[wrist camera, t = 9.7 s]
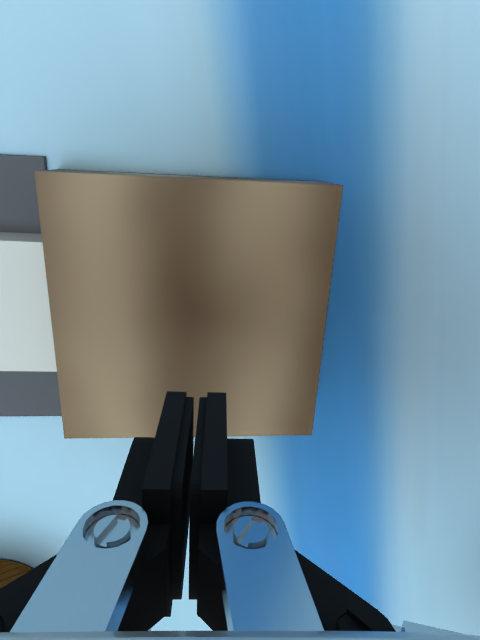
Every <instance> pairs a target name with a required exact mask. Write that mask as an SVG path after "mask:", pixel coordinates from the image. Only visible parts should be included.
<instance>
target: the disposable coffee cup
mask: <svg viewBox="0 0 480 640" xmlns="http://www.w3.org/2000/svg"><path fill="white" fill-rule="evenodd" d="M30 570H32V568H30V567H28V566H26V565H23V564H21V563H17V562H14V561H8V560H0V589H1V588H2V587H4V586H6V585H7V584H9V583H11V582H12V581H14V580H16V579H17V578H19V577H20V576H22V575H24V574H25V573H27V572H29V571H30Z"/></svg>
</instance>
